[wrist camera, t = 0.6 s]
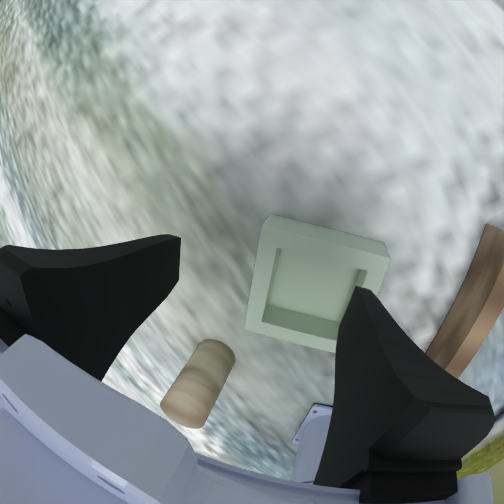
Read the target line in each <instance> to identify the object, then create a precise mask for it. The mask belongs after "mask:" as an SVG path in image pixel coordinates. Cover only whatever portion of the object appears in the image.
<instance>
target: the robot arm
mask: <svg viewBox="0 0 504 504" xmlns="http://www.w3.org/2000/svg"><path fill="white" fill-rule="evenodd" d="M180 246H181V238H180V237H177V236H173V235H169V234H164V235H157V236H151V237H146V238H142V239H137V240H132V241H128V242H123V243H118V244H112V245H107V246H101V247H94V248H85V249H65V250H49V249H34V248H26V247H19V246H13V245H6V246H4V247H2V248H0V504H493V495H492V486H491V478H490V473H488V472H486V473H481V474H475V475H468V476H464V477H462V478H459V479H457V475H456V471H459V470H460V469H461V467H462V462H461V458H462V457H463V456H464V455H466V454H467V453H468V452H469V451H470V450H472V449H473V448H474V447H475V446H476V445H478V444H479V443H480V442H481V441H482V440H483V439H484V438H485V437H486V436H487V435H488V433H489V432H490V430H491V429H492V427H493V425H494V422H495V416H494V412H493V409H492V406H491V403H490V400H489V397H488V396H486V395H484V394H482V393H481V392H479V391H477V390H475V389H473V388H471V387H470V386H468V385H466V384H464V383H463V382H461V381H460V380H458V379H457V378H455V377H454V376H452V375H451V374H450V373H448V372H447V371H446V370H444V369H443V368H442V367H440V366H439V365H438V364H437V363H436V362H434V361H433V360H432V359H431V358H430V357H428V356H427V355H426V354H425V353H424V352H423V351H422V350H421V349H420V348H419V347H418V346H417V345H416V344H415V343H414V342H413V341H412V340H411V339H410V338H409V337H408V336H407V335H406V333H405V332H404V331H403V330H402V329H401V328H400V326H399V325H398V324H397V323H396V321H395V320H394V319H393V318H392V316H391V315H390V314H389V313H388V311H387V310H386V309H385V307H384V306H383V305H382V303H381V302H380V301H379V299H378V298H377V297H376V295H375V294H374V293H373V292H372V291H371V290H370V289H367V288H363V287H359V286H355V288H354V291H353V294H352V296H351V299H350V301H349V304H348V306H347V309H346V311H345V313H344V316H343V318H342V321H341V323H340V325H339V329H338V336H337V342H336V358H335V391H334V403H333V407H328V406H323V405H318V404H315V405H313V406H312V407H311V409H310V411H309V413H308V414H307V416H306V418H305V420H304V421H303V423H302V425H301V426H300V428H299V430H298V431H297V433H296V435H295V436H294V438H293V440H292V444H294V445H299V446H298V451H297V455H296V459H295V463H294V467H293V471H292V475H291V480H285V479H281V478H276V477H272V476H268V475H264V474H260V473H256V472H253V471H249V470H246V469H242V468H239V467H236V466H232V465H229V464H226V463H223V462H220V461H217V460H215V459H212V458H209V457H206V456H204V455H201V454H198V453H196V452H194V450H193V448H192V446H191V445H190V443H189V441H188V439H187V437H185V436H184V435H183V434H182V433H181V432H179V431H178V430H177V429H176V428H175V427H174V426H172V425H171V424H170V423H169V422H168V421H167V420H166V419H164V418H162V417H161V416H159V415H157V414H156V413H154V412H152V411H151V410H149V409H148V408H146V407H144V406H143V405H141V404H140V403H138V402H136V401H134V400H132V399H131V398H129V397H127V396H125V395H123V394H121V393H120V392H118V391H116V390H114V389H113V388H111V387H109V386H107V385H106V384H104V383H102V382H101V381H102V380H103V378H104V376H105V374H106V373H107V371H108V369H109V367H110V366H111V364H112V363H113V361H114V360H115V358H116V356H117V355H118V353H119V352H120V350H121V349H122V348H123V346H124V345H125V343H126V342H127V341H128V339H129V338H130V336H131V335H132V334H133V333H134V332H135V330H136V329H137V328H138V327H139V326H140V325H141V324H142V323H143V322H144V321H145V320H146V319H147V318H148V317H149V315H150V314H151V313H152V312H153V311H154V310H155V309H156V308H157V307H158V306H159V305H160V304H161V303H162V302H163V301H164V300H165V299H166V297H167V296H168V295H169V294H170V292H171V291H172V289H173V288H174V286H175V285H176V283H177V282H178V280H179V265H180Z"/></svg>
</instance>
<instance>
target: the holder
mask: <svg viewBox="0 0 504 504" xmlns="http://www.w3.org/2000/svg"><path fill="white" fill-rule="evenodd" d="M390 260H391V257H390V255H389V253H388V250H387V248H386V246H385V243H381V242H378V241H374V240H371V239H367V238H363V237H359V236H356V235H352V234H348V233H344V232H341V231H337V230H333V229H329V228H325V227H321V226H317V225H313V224H309V223H305V222H301V221H297V220H292V219H288V218H284V217H280V216H276V215H271V214H270V216H269V217H268V218H267V219H266V221H265V222H264V223H263V224H262V226H261V232H260V238H259V243H258V249H257V255H256V261H255V267H254V273H253V278H252V284H251V290H250V296H249V302H248V307H247V313H246V319H245V325H244V329H245V330H248V331H252V332H255V333H259V334H262V335H266V336H269V337H273V338H277V339H280V340H284V341H288V342H292V343H295V344H299V345H303V346H307V347H311V348H315V349H319V350H324V351H328V352H332V353H336V342H337V336H338V329H339V325H340V323H341V321H342V318H343V316H344V313H345V311H346V309H347V306H348V304H349V301H350V299H351V296H352V294H353V291H354V288H355V286H359V287H363V288H367V289H370V290H371V291H372V292H373V293H374V294H375V295H376V296H377V294H378V292H379V289H380V287H381V284H382V281H383V279H384V276H385V274H386V271H387V268H388V266H389V263H390Z"/></svg>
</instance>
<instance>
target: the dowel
mask: <svg viewBox="0 0 504 504" xmlns="http://www.w3.org/2000/svg"><path fill="white" fill-rule="evenodd" d="M234 363H235V356H234V354H233V352H232V351H231V349H230V348H229V347H227V346H226V345H225V344H223V343H221V342H219V341H216V340H204V341H202V342H200V344H199V345H198V346H197V348H196V350H195V351H194V353H193V354H192V356H191V357H190V359H189V360H188V362H187V363H186V365H185V366H184V368H183V369H182V371H181V372H180V374H179V375H178V377H177V378H176V380H175V381H174V383H173V384H172V386H171V387H170V389H169V390H168V392H167V393H166V395H165V396H164V398H163V399H162V401H161V402H160V406H161V409H162V410H163V412H164V413H165V414H166V415H167V416H168V417H169V418H170V419H172V420H173V421H175V422H177V423H178V424H180V425H183V426H185V427H189V428H195V429H197V428H201V427H203V426H204V424H205V422H206V420H207V418H208V416H209V414H210V412H211V410H212V408H213V406H214V404H215V402H216V400H217V398H218V396H219V394H220V392H221V390H222V388H223V386H224V383H225V381H226V379H227V377H228V375H229V373H230V371H231V369H232V367H233V365H234Z"/></svg>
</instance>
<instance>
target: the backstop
mask: <svg viewBox="0 0 504 504" xmlns="http://www.w3.org/2000/svg"><path fill="white" fill-rule="evenodd" d="M503 307H504V232H503V231H501V230H499V229H497V228H495V227H492V226H490V225H488V224H486V226H485V229H484V232H483V235H482V238H481V241H480V243H479V246H478V249H477V251H476V254H475V256H474V259H473V261H472V264H471V266H470V269H469V271H468V273H467V276H466V278H465V280H464V282H463V284H462V287H461V289H460V291H459V293H458V295H457V297H456V299H455V301H454V303H453V305H452V307H451V309H450V311H449V313H448V315H447V317H446V318H445V320H444V322H443V324H442V326H441V328H440V329H439V331H438V333H437V334H436V336H435V338H434V340H433V341H432V343H431V345H430V346H429V348H428V349H427V351H426V353H425V354H426V355H427V356H428V357H430V358H431V359H432V360H433V361H434V362H436V363H437V364H438V365H439V366H440V367H442V368H443V369H444V370H446V371H447V372H448V373H450V374H451V375H452V376H454V377H455V378H457V379H458V378H459V376H460V375H461V374H462V372H463V371H464V370H465V368H466V367H467V365H468V364H469V363H470V361H471V360H472V358H473V357H474V355H475V354H476V352H477V351H478V349H479V348H480V346H481V345H482V343H483V342H484V340H485V339H486V337H487V335H488V334H489V332H490V330H491V329H492V327H493V325H494V324H495V322H496V320H497V318H498V316H499V315H500V313H501V311H502V309H503Z"/></svg>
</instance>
